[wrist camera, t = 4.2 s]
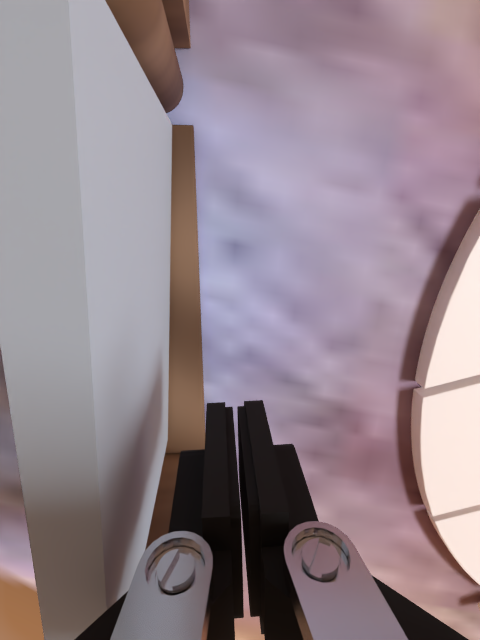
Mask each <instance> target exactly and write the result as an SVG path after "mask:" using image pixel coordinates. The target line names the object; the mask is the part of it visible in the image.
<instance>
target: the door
mask: <svg viewBox="0 0 480 640" xmlns="http://www.w3.org/2000/svg"><path fill="white" fill-rule="evenodd" d="M171 173H172V123H171V121H170V120H169V118H168V116H167V114H166V112H165V110H164V108H163V107H162V105H161V103H160V101H159V99H158V97H157V95H156V94H155V92H154V90H153V88H152V86H151V84H150V82H149V81H148V79H147V77H146V75H145V73H144V71H143V69H142V68H141V66H140V64H139V62H138V60H137V58H136V56H135V55H134V53H133V51H132V49H131V47H130V45H129V44H128V42H127V40H126V38H125V36H124V34H123V32H122V31H121V29H120V27H119V25H118V23H117V21H116V19H115V18H114V16H113V14H112V12H111V10H110V8H109V6H108V5H107V3H106V1H105V0H0V347H1V354H2V360H3V367H4V374H5V380H6V387H7V394H8V400H9V407H10V414H11V420H12V427H13V433H14V440H15V447H16V453H17V460H18V467H19V473H20V480H21V487H22V493H23V500H24V507H25V513H26V520H27V527H28V533H29V540H30V547H31V553H32V560H33V567H34V573H35V580H36V586H37V593H38V600H39V606H40V613H41V620H42V626H43V633H44V640H74V639H75V638H77V637H78V636H79V635H80V634H81V633H82V632H83V631H84V630H85V629H86V628H88V627H89V626H90V625H91V624H92V623H93V622H94V621H95V620H96V619H98V618H99V617H100V616H101V615H102V614H103V613H104V612H105V611H106V610H107V609H109V608H110V607H111V606H112V605H113V604H114V603H115V602H116V601H117V600H119V599H120V598H121V597H122V596H123V595H124V594H125V593H126V592H127V591H128V590H129V587H130V585H131V582H132V579H133V577H134V574H135V571H136V568H137V566H138V563H139V561H140V559H141V557H142V555H143V553H144V551H145V548H146V544H147V539H148V534H149V529H150V524H151V519H152V514H153V509H154V505H155V500H156V495H157V490H158V485H159V480H160V475H161V470H162V465H163V461H164V456H165V451H166V446H167V441H168V389H169V317H170V245H171Z"/></svg>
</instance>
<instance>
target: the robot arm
mask: <svg viewBox="0 0 480 640" xmlns="http://www.w3.org/2000/svg"><path fill="white" fill-rule="evenodd" d="M238 446H239V482H240V496H239V483H238V471H237V458H236V446H235V433H234V421H233V408H232V407H225V402H222V403H207V412H206V433H205V449H201V450H184V451H181V452H180V457H179V463H178V470H177V477H176V484H175V491H174V497H173V504H172V511H171V518H170V524H169V531H168V534H165V535H163V536H161V537H160V538H158V539H157V540H155V541H154V542H153V543H152V544H151V545H150V546H149V547H148V548H147V549H146V550H145V551H144V553H143V555H142V557H141V559H140V561H139V563H138V566H137V568H136V571H135V574H134V577H133V579H132V582H131V585H130V587H129V590H128V591H127V592H126V593H125V594H124V595H123V596H122V597H121V598H120V599H119V600H117V601H116V602H115V603H114V604H113V605H112V606H111V607H110V608H109V609H107V610H106V611H105V612H104V613H103V614H102V615H101V616H100V617H99V618H98V619H96V620H95V621H94V622H93V623H92V624H91V625H90V626H89V627H88V628H86V629H85V630H84V631H83V632H82V633H81V634H80V635H79V636H78V637H77V638H75V639H74V640H235V631H234V618H243V617H244V614H243V574H242V534H241V510H240V497H241V509H242V521H243V533H244V545H245V557H246V569H247V581H248V593H249V605H250V616H251V617H255V616H260V626H261V634H264V635H265V640H468V639H467V638H465V637H464V636H462V635H461V634H459V633H458V632H456V631H455V630H453V629H452V628H450V627H449V626H447V625H446V624H444V623H443V622H441V621H440V620H438V619H437V618H435V617H434V616H432V615H431V614H429V613H428V612H426V611H425V610H423V609H422V608H420V607H419V606H417V605H416V604H414V603H413V602H411V601H410V600H408V599H407V598H405V597H404V596H402V595H401V594H399V593H397V592H396V591H394V590H393V589H391V588H390V587H388V586H387V585H385V584H384V583H382V582H381V581H379V580H378V579H376V578H375V577H373V576H372V575H371V574H370V572H369V570H368V569H367V567H366V565H365V563H364V562H363V560H362V558H361V556H360V555H359V553H358V551H357V549H356V548H355V546H354V544H353V543H352V542H351V540H350V539H349V538H348V536H347V535H345V534H344V533H343V532H342V531H340V530H339V529H338V528H336V527H334V526H332V525H330V524H328V523H323V522H319V521H318V518H317V515H316V512H315V509H314V506H313V502H312V499H311V496H310V493H309V490H308V487H307V484H306V481H305V478H304V475H303V472H302V469H301V466H300V462H299V459H298V456H297V453H296V450H295V448H294V445H293V444H283V445H273V442H272V437H271V433H270V429H269V425H268V421H267V417H266V412H265V408H264V404H263V401H262V400H260V401H244V406H239V407H238Z"/></svg>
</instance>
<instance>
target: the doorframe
mask: <svg viewBox="0 0 480 640" xmlns="http://www.w3.org/2000/svg"><path fill="white" fill-rule="evenodd" d="M105 1H106V3H107V5H108V6H109V8H110V10H111V12H112V14H113V16H114V18H115V19H116V21H117V23H118V25H119V27H120V29H121V31H122V32H123V34H124V36H125V38H126V40H127V42H128V44H129V45H130V47H131V49H132V51H133V53H134V55H135V56H136V58H137V60H138V62H139V64H140V66H141V68H142V69H143V71H144V73H145V75H146V77H147V79H148V81H149V82H150V84H151V86H152V88H153V90H154V92H155V94H156V95H157V97H158V99H159V101H160V103H161V105H162V107H163V108H164V110H165V112H166V113H168V112H170V111H172V110H173V109H174V108H175V107H176V106H177V105H178V104H179V102H180V100H181V98H182V94H183V79H182V75H181V71H180V68H179V64H178V60H177V56H176V52H175V49H174V48H191V47H190V21H189V0H105ZM201 449H205V414H204V388H203V361H202V335H201V309H200V283H199V257H198V230H197V204H196V178H195V152H194V127H193V125H172V173H171V245H170V317H169V389H168V441H167V446H166V451H165V456H164V461H163V465H162V470H161V475H160V480H159V485H158V490H157V495H156V500H155V505H154V509H153V514H152V519H151V524H150V529H149V534H148V539H147V544H146V548H145V550H146V549H147V548H148V547H149V546H150V545H151V544H152V543H153V542H154V541H155V540H157V539H158V538H160V537H161V536H163V535H165V534H168V531H169V524H170V518H171V511H172V504H173V497H174V491H175V484H176V477H177V470H178V463H179V457H180V452H181V451H184V450H201Z"/></svg>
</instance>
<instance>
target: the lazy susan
mask: <svg viewBox="0 0 480 640" xmlns="http://www.w3.org/2000/svg"><path fill="white" fill-rule="evenodd" d="M415 381H416V382H417V383H418V384H419V385H421V386H422V387H420V388H416V389H414V390H413V398H412V411H411V444H412V456H413V463H414V470H415V475H416V479H417V484H418V487H419V491H420V494H421V497H422V501H423V503H424V505H425V507H426V508H427V510H426V511H427V513H428V516H429V518H430V520H431V522H432V524H433V526H434V528H435V529H436V531H437V533H438V535H439V536H440V538H441V539H442V541H443V542H444V544H445V545H446V547H447V548H448V550H449V551H450V553H451V554H452V556H453V557H454V558H455V560H456V561H457V562H458V564H459V565H460V566H461V567H462V568H463V569H464V571H465V572H466V573H467V574H468V575H469V576H470V577H471V578H472V579H473V580H474V581H475V582H476V583H478V584H479V585H480V209H479V210H478V212H477V214H476V216H475V217H474V219H473V221H472V223H471V225H470V227H469V228H468V230H467V232H466V234H465V236H464V238H463V240H462V242H461V244H460V246H459V248H458V250H457V252H456V254H455V256H454V258H453V260H452V263H451V265H450V267H449V269H448V272H447V274H446V276H445V279H444V281H443V284H442V286H441V288H440V291H439V293H438V296H437V299H436V302H435V304H434V307H433V310H432V313H431V316H430V319H429V322H428V326H427V329H426V332H425V336H424V340H423V343H422V347H421V351H420V356H419V360H418V365H417V370H416V376H415ZM478 607H479V610H480V603H478Z"/></svg>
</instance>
